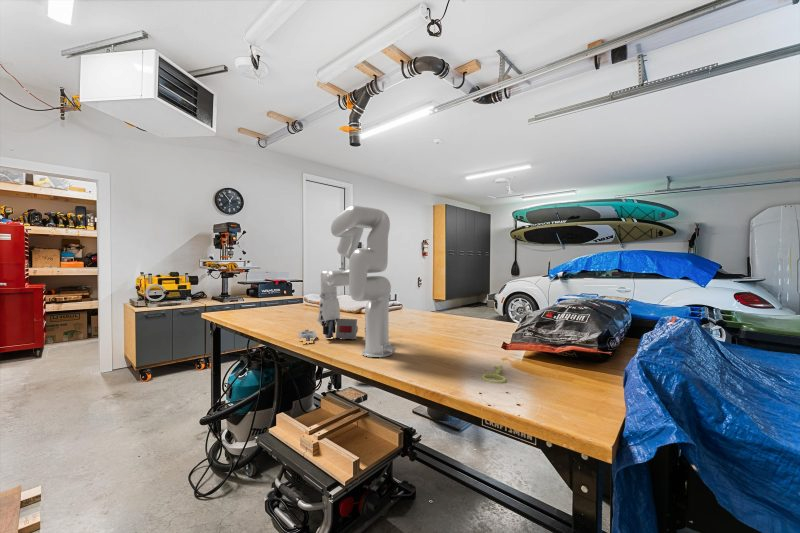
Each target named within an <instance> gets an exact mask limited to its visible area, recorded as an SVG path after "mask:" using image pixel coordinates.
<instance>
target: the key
mask: <svg viewBox="0 0 800 533" xmlns="http://www.w3.org/2000/svg"><path fill="white" fill-rule="evenodd" d="M493 368H494V369H496V370H495V371H494V372H493V373H483V374H482V375H481V380H483V381H485V382H488V383H493V384H505V383H506V380H507V379H506V377H505V376H503V375H501V374H500V373H501V371H502V370H503V365H494V366H493ZM489 378H494V379H497V380H493V379H489ZM498 379H499V380H498Z"/></svg>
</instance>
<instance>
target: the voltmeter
mask: <svg viewBox="0 0 800 533" xmlns="http://www.w3.org/2000/svg"><path fill="white" fill-rule="evenodd" d="M336 323H337V324H336V327H335V339H336V338H342V339H341V340H345V339H356V340H357V333H358V331H359V328H358V327H359V326H358V319H357V318H339V319H337V322H336Z"/></svg>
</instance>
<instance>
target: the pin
mask: <svg viewBox="0 0 800 533" xmlns="http://www.w3.org/2000/svg"><path fill="white" fill-rule="evenodd" d="M327 326H328V330H329V334H328V335H325V334H324V336H325V337H326V338H331V337H333V338H334V333H333V320H328V325H327Z"/></svg>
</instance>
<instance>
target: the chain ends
mask: <svg viewBox="0 0 800 533" xmlns="http://www.w3.org/2000/svg"><path fill="white" fill-rule="evenodd" d="M302 331H303V332H302ZM302 331H298V340H299V339H301V338H306V341H310V338H316V336H317V333H316V330H312V331H309V329H305V330H302ZM316 339H317V338H316ZM311 341H314V342H315V340H313V339H311Z"/></svg>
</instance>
